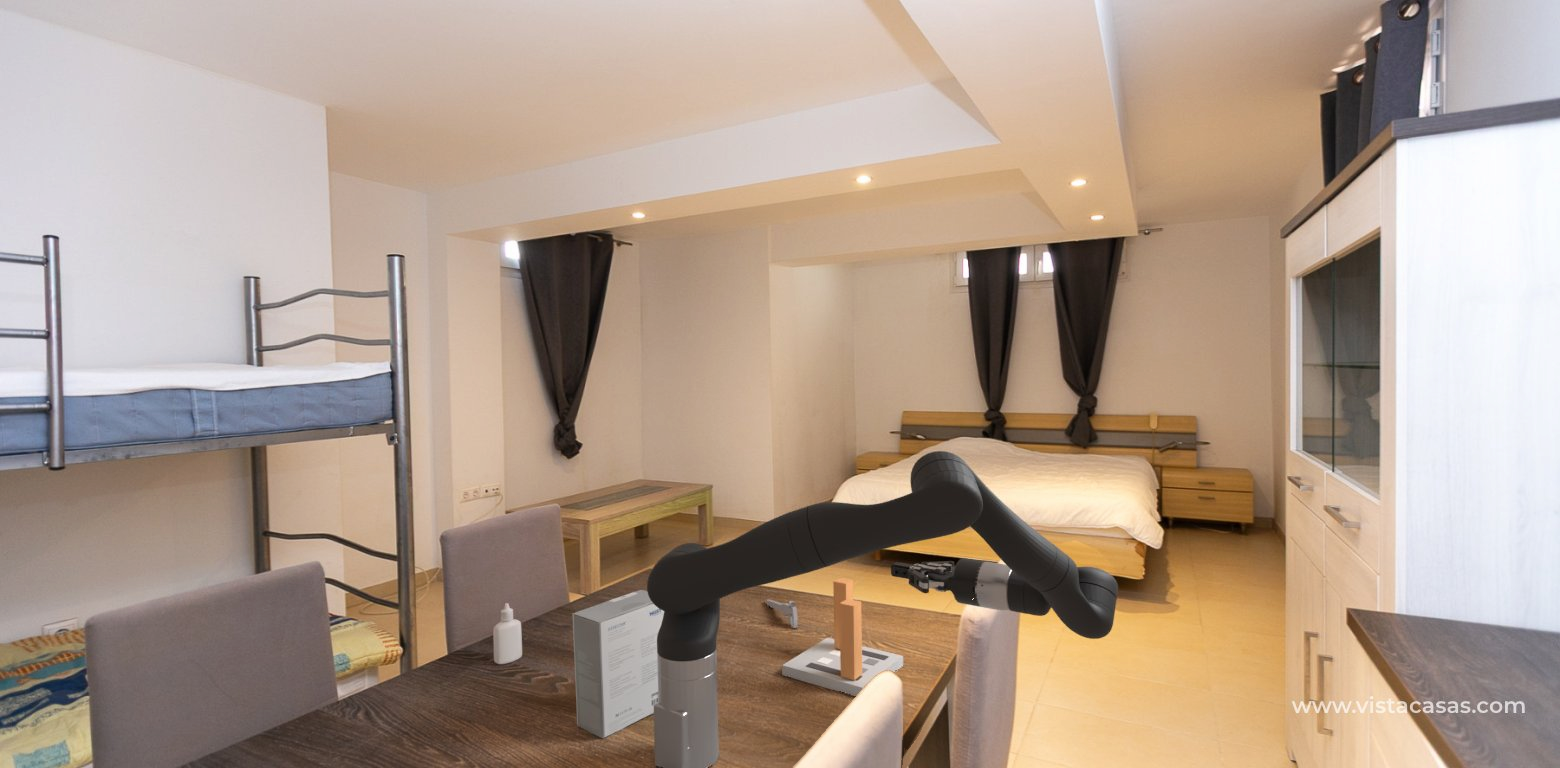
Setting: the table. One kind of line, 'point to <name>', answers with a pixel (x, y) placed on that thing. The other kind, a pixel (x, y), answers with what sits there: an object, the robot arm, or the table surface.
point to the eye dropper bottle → (507, 638)
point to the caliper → (786, 610)
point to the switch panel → (838, 667)
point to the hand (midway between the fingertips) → (893, 568)
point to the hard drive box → (616, 662)
